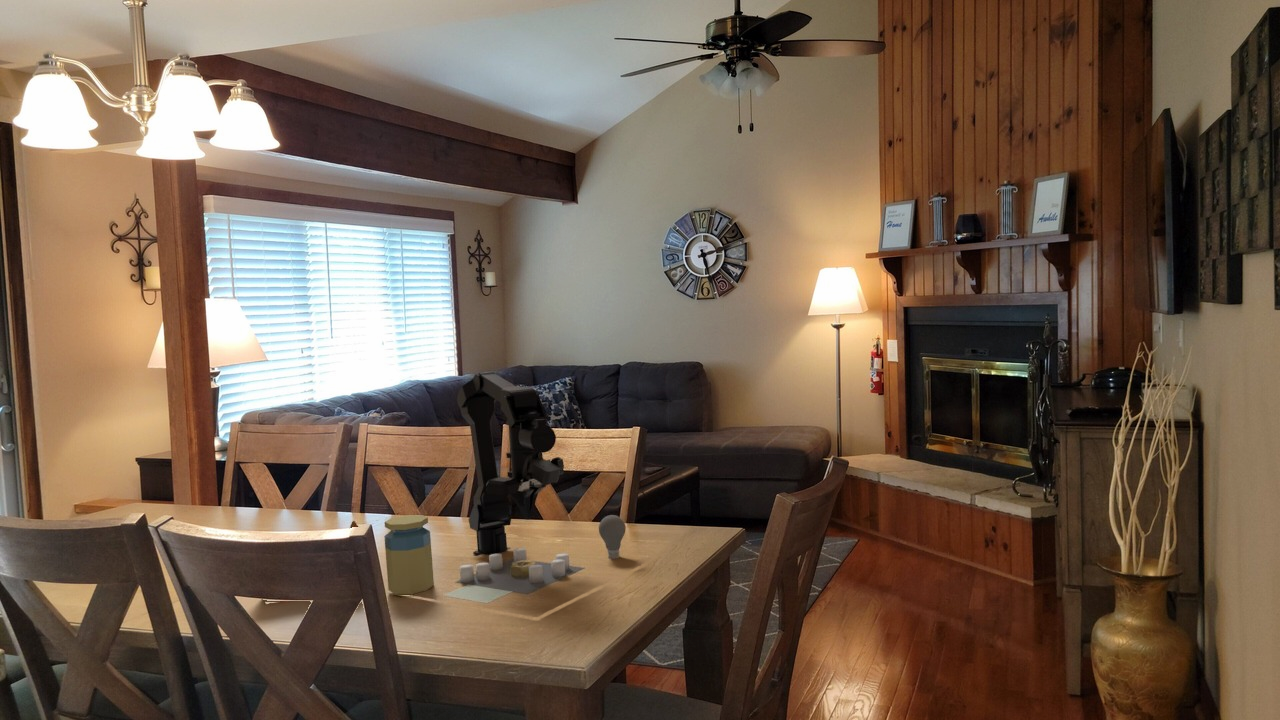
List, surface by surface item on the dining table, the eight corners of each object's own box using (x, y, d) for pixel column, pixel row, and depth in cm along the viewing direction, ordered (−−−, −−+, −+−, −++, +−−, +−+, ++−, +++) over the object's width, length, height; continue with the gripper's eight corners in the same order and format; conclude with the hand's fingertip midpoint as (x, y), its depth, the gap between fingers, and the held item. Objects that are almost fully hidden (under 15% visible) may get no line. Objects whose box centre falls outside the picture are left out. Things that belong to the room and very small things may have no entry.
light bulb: (624, 563, 200) (621, 518, 199) (597, 563, 201) (594, 518, 200) (629, 555, 206) (627, 512, 205) (604, 555, 207) (601, 512, 206)
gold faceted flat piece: (506, 575, 194) (505, 565, 194) (521, 569, 198) (520, 559, 198) (526, 578, 191) (525, 567, 191) (540, 572, 195) (540, 561, 195)
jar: (443, 586, 190) (438, 516, 189) (410, 600, 183) (405, 526, 182) (412, 581, 195) (407, 513, 194) (379, 594, 188) (373, 523, 187)
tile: (442, 598, 183) (442, 595, 183) (468, 587, 189) (468, 584, 189) (486, 606, 176) (486, 603, 176) (512, 594, 182) (512, 591, 182)
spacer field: (454, 585, 191) (453, 568, 191) (514, 560, 207) (513, 545, 207) (527, 597, 180) (526, 579, 180) (585, 570, 196) (584, 554, 196)
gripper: (522, 456, 183) (527, 533, 184) (580, 442, 198) (584, 512, 199) (482, 454, 189) (487, 527, 190) (541, 439, 204) (545, 508, 205)
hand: (528, 519), depth 196 cm, fingers closed
